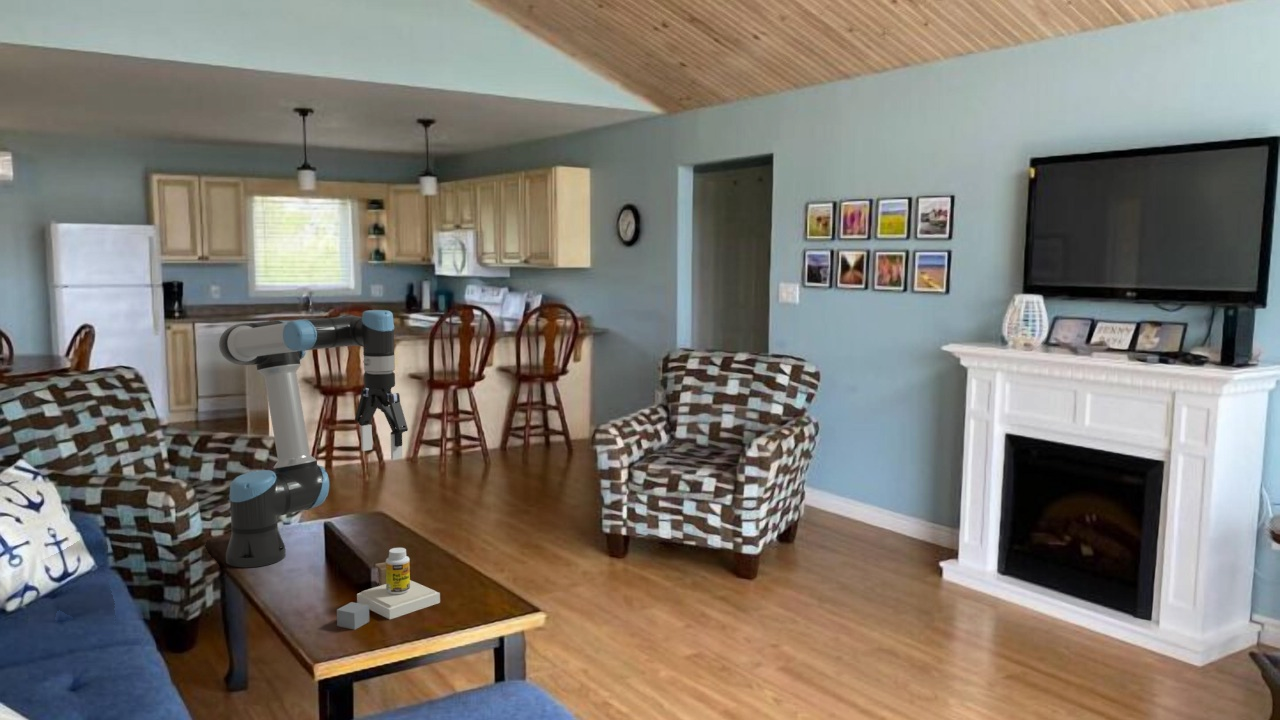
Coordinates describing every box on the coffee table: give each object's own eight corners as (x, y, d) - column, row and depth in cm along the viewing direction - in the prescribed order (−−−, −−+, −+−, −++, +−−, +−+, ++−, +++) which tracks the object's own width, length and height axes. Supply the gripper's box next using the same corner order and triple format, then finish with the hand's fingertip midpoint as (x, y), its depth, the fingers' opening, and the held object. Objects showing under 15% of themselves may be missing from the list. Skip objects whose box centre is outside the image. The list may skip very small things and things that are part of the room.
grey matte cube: (337, 626, 214) (336, 609, 213) (351, 618, 218) (351, 602, 218) (355, 630, 212) (354, 613, 211) (369, 622, 217) (368, 605, 216)
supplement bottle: (390, 597, 223) (389, 555, 222) (383, 589, 228) (382, 548, 227) (413, 592, 226) (412, 551, 225) (405, 585, 231) (404, 544, 230)
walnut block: (375, 582, 241) (375, 563, 240) (391, 579, 243) (390, 561, 242) (381, 588, 237) (381, 569, 236) (397, 585, 239) (397, 566, 238)
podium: (357, 603, 227) (356, 591, 227) (406, 587, 237) (406, 576, 237) (389, 619, 218) (389, 607, 217) (440, 602, 228) (439, 590, 228)
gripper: (339, 368, 243) (342, 448, 245) (394, 378, 226) (396, 465, 229) (365, 365, 248) (367, 444, 251) (420, 375, 231) (422, 459, 234)
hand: (381, 454), depth 240 cm, fingers open, 13 cm apart
